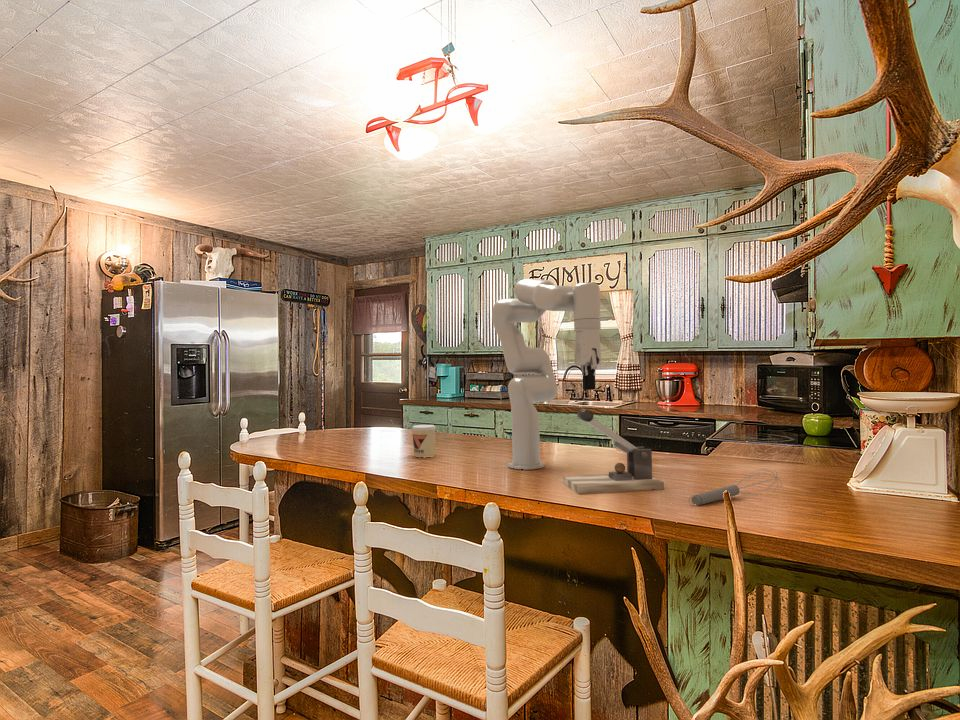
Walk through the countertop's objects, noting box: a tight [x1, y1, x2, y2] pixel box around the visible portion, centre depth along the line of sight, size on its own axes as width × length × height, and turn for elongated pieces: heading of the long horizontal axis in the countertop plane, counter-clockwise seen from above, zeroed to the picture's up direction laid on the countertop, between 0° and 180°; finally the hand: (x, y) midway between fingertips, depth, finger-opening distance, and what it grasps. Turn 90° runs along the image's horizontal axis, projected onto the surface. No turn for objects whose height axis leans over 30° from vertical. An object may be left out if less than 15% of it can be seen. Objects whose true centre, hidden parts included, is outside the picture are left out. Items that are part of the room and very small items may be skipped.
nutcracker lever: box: [576, 408, 639, 455], centre depth 158 cm, size 5×23×4 cm
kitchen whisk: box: [688, 468, 783, 507], centre depth 142 cm, size 6×34×6 cm, turn 117°
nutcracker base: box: [562, 446, 665, 495], centre depth 158 cm, size 14×25×10 cm, turn 98°
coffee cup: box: [411, 424, 437, 457], centre depth 214 cm, size 9×9×12 cm
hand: (589, 389), depth 157 cm, fingers closed
